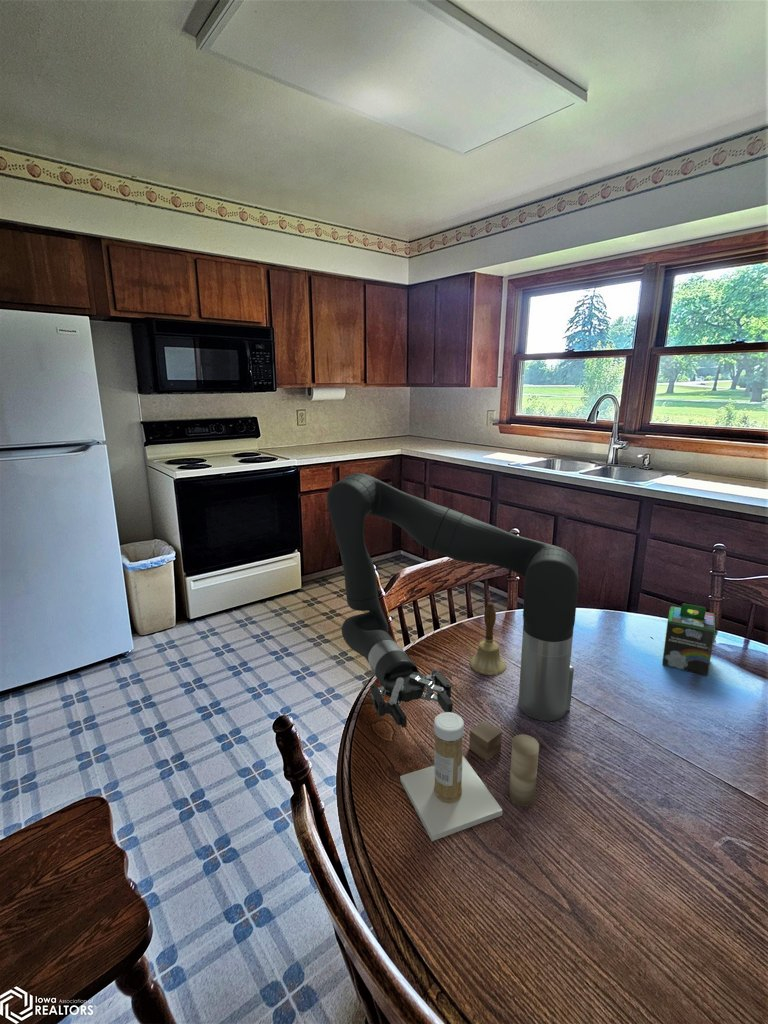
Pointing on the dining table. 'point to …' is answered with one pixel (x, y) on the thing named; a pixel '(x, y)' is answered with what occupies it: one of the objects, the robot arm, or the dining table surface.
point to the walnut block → (485, 740)
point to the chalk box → (689, 638)
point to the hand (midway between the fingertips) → (427, 716)
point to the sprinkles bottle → (448, 756)
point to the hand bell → (488, 648)
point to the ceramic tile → (450, 815)
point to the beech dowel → (523, 769)
